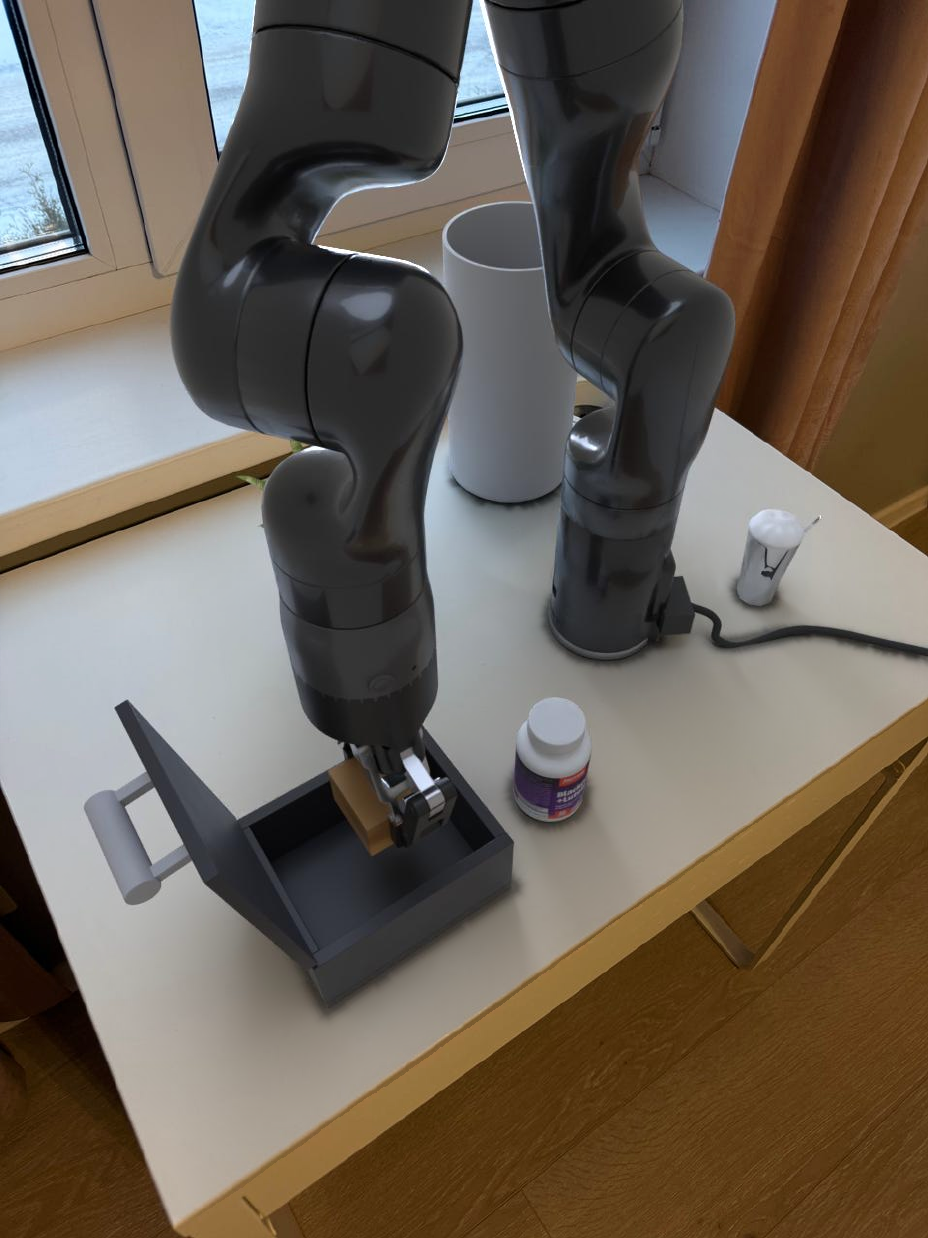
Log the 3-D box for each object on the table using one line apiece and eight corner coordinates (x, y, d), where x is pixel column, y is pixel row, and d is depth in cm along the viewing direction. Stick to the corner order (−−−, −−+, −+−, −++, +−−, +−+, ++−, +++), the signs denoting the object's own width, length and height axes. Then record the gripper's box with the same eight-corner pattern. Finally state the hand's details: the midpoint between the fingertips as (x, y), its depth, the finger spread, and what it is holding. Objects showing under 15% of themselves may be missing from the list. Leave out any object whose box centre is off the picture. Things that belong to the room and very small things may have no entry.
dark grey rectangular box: (422, 769, 70) (418, 718, 65) (511, 887, 64) (514, 841, 59) (250, 868, 65) (230, 822, 60) (327, 1008, 58) (313, 970, 53)
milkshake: (790, 616, 80) (822, 535, 73) (729, 608, 81) (755, 527, 73) (788, 580, 83) (819, 498, 76) (729, 572, 84) (754, 491, 76)
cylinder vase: (570, 434, 98) (592, 204, 79) (565, 510, 90) (588, 274, 71) (457, 427, 99) (452, 198, 80) (442, 502, 91) (432, 267, 72)
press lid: (127, 698, 47) (43, 750, 46) (219, 873, 40) (123, 938, 39) (234, 816, 59) (170, 859, 58) (318, 963, 53) (247, 1015, 52)
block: (398, 762, 61) (395, 733, 58) (438, 817, 58) (437, 789, 55) (333, 798, 59) (327, 770, 56) (371, 857, 56) (366, 830, 53)
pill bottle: (562, 836, 66) (573, 766, 59) (500, 802, 68) (502, 731, 61) (595, 782, 69) (609, 709, 62) (534, 751, 71) (541, 676, 64)
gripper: (504, 697, 43) (497, 859, 56) (357, 527, 51) (380, 703, 63) (367, 773, 40) (393, 925, 53) (234, 581, 48) (285, 754, 61)
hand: (386, 803), depth 58 cm, fingers closed on block, 5 cm apart
